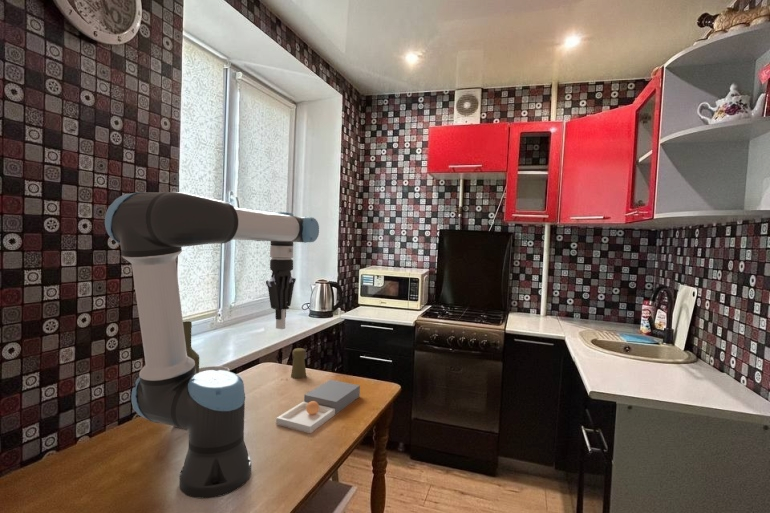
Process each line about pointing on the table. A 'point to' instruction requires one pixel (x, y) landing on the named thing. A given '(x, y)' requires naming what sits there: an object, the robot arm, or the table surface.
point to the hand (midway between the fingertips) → (280, 328)
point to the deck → (334, 394)
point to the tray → (305, 418)
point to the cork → (298, 363)
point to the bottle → (189, 350)
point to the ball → (312, 407)
